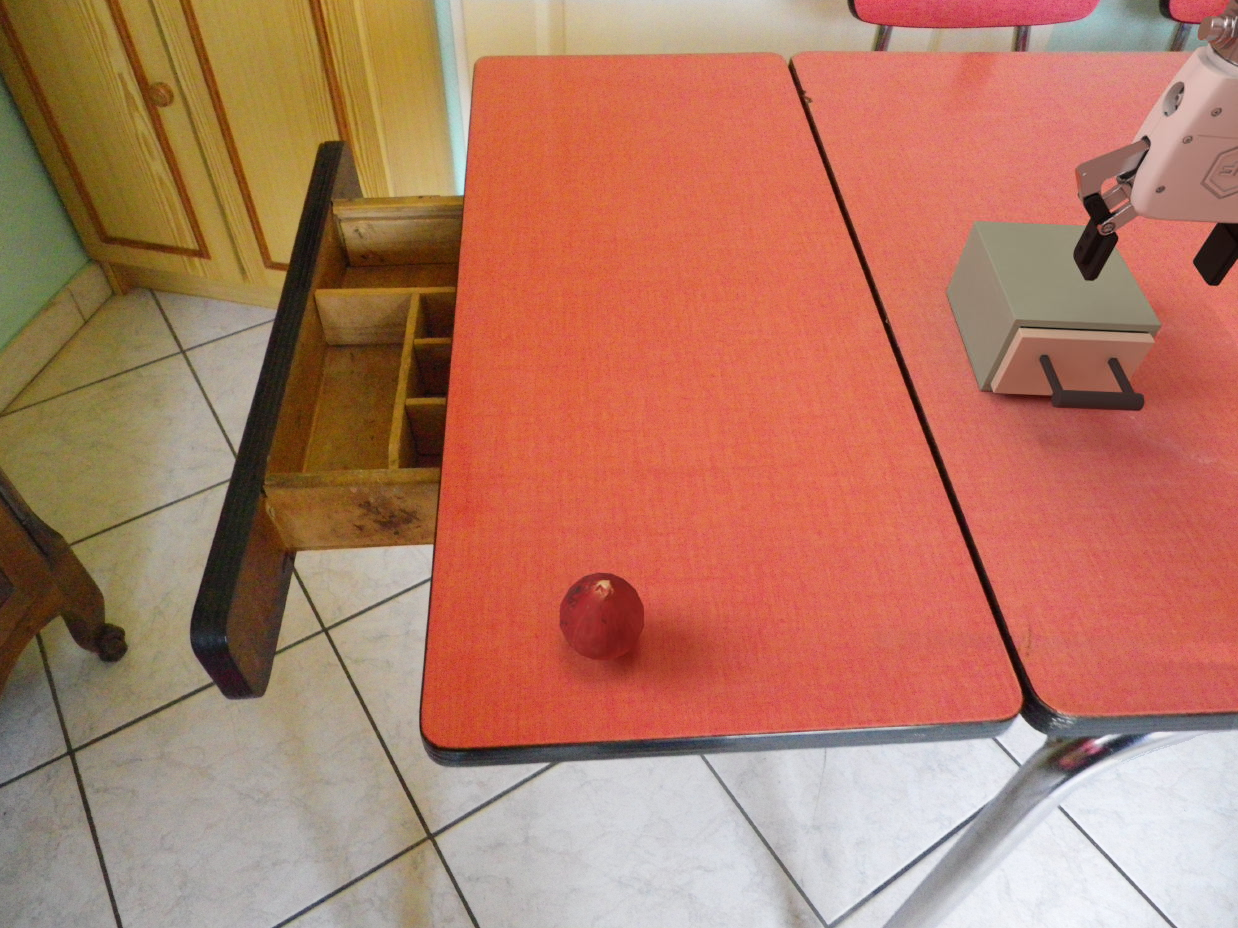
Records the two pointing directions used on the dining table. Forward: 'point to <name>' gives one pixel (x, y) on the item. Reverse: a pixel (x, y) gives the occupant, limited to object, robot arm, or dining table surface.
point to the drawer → (1075, 367)
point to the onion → (601, 616)
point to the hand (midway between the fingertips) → (1144, 272)
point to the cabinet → (1036, 290)
